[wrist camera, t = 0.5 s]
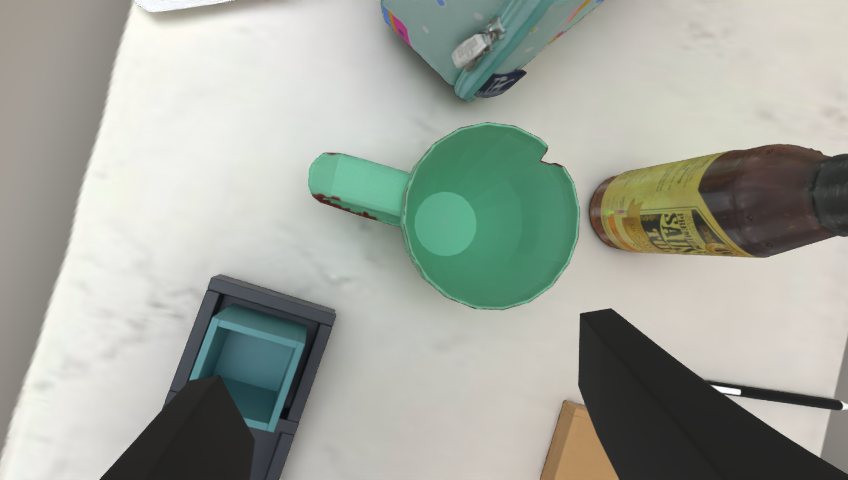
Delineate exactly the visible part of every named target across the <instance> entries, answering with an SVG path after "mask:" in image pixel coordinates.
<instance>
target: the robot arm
mask: <svg viewBox="0 0 848 480" xmlns="http://www.w3.org/2000/svg"><path fill="white" fill-rule="evenodd" d="M578 386H579V389H580V392H581V394H582V397H583V400H584V403H585V405H586V408H587V411H588V413H589V416H590V419H591V421H592V424H593V426H594V429H595V432H596V434H597V436H598V438H599V440H600V443H601V445H602V447H603V449H604V451H605V453H606V455H607V457H608V459H609V461H610V463H611V465H612V467H613V469H614V471H615V473H616V475H617V476H618V478H619V480H848V474H846V473H844V472H843V471H841V470H839V469H838V468H836V467H834V466H833V465H831V464H829V463H827V462H826V461H824V460H823V459H821V458H819V457H818V456H816V455H814V454H813V453H811V452H809V451H808V450H806V449H804V448H803V447H801V446H800V445H798V444H797V443H795V442H793V441H792V440H790V439H789V438H787V437H786V436H784V435H782V434H781V433H779V432H778V431H776V430H775V429H773V428H772V427H770V426H769V425H767V424H766V423H764V422H763V421H761V420H760V419H759V418H757V417H756V416H754V415H753V414H751V413H750V412H748V411H747V410H745V409H744V408H742V407H741V406H739V405H738V404H737V403H735V402H734V401H732V400H731V399H729V398H728V397H727V396H725V395H724V394H722V393H721V392H720V391H718V390H717V389H716V388H714V387H713V386H711V385H710V384H709V383H707V382H706V381H705V380H703V379H702V378H701V377H699V376H698V375H696V374H695V373H694V372H692V371H691V370H690V369H688V368H687V367H686V366H684V365H683V364H682V363H680V362H679V361H678V360H676V359H675V358H674V357H673V356H671V355H670V354H669V353H667V352H666V351H665V350H664V349H662V348H661V347H660V346H658V345H657V344H656V343H655V342H653V341H652V340H651V339H649V338H648V337H647V336H646V335H644V334H643V333H642V332H641V331H639V330H638V329H637V328H636V327H634V326H633V325H632V324H631V323H629V322H628V321H627V320H626V319H624V318H623V317H622V316H620V315H619V314H618V313H617V312H615V311H614V310H613V309H611V308H610V309H604V310H598V311H592V312H586V313H580V336H579V380H578ZM254 446H255V439H254V437H253V435H252V433H251V431H250V429H249V428H248V426H247V424H246V422H245V420H244V419H243V417H242V415H241V413H240V411H239V409H238V408H237V406H236V404H235V402H234V400H233V398H232V397H231V395H230V393H229V391H228V389H227V387H226V386H225V384H224V382H223V380H222V378H221V376H220V375H217V376H212V377H206V378H200V379H194V380H190V381H189V382H188V383H187V384H186V385H185V386H184V387H183V388H182V389H181V390H180V391H179V392H178V393H177V394H176V395H175V396H174V397H173V399H172V400H171V401H170V402H169V403H168V404H167V405H166V406H165V407H164V408H163V410H162V411H161V412H160V413H159V414H158V415H157V416H156V417H155V419H154V420H153V421H152V422H151V423H150V424H149V425H148V426H147V428H146V429H145V430H144V431H143V432H142V433H141V434H140V435H139V436H138V438H137V439H136V440H135V441H134V442H133V443H132V444H131V445H130V447H129V448H128V449H127V450H126V451H125V452H124V453H123V454H122V455H121V456H120V458H119V459H118V460H117V461H116V462H115V463H114V464H113V465H112V466H111V467H110V469H109V470H108V471H107V472H106V473H105V474H104V475H103V476H102V477H101V479H100V480H250V476H251V470H252V462H253V454H254Z"/></svg>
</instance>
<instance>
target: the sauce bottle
mask: <svg viewBox="0 0 848 480" xmlns="http://www.w3.org/2000/svg"><path fill="white" fill-rule="evenodd" d="M590 216H591V222H592V225H593V227H594V229H595V231H596V232H597V234H598V235H599V237H600V238H601V239H602V240H603V241H604V242H605V243H607V244H608V245H610V246H611V247H615V248H618V249H623V250H626V251H629V252H641V253H662V254H683V255H710V256H732V257H755V258H766V257H769V256H772V255H776V254H779V253H782V252H786V251H789V250H792V249H795V248H799V247H802V246H805V245H809V244H812V243H815V242H818V241H822V240H825V239H828V238H832V237H835V236H842V237H847V236H848V154H840V155H836V156H833V157H830V156H826V155H823V154H822V153H821V152H820V151H816V150H813V149H812V148H810V149H808V148H804V147H801V146H796V145H790V144H787V145H786V144H785V145H783V144H775V145H766V146H761V147H757V148H751V149H747V150H732V151H727V152H722V153H717V154H712V155H706V156H702V157H697V158H692V159H687V160H682V161H677V162H672V163H667V164H661V165H656V166H652V167H647V168H642V169H637V170H632V171H627V172H624V173H622V174H621V175H618V176H613V177H611V178H609V179H607V180H605V181H604V183H602V184H601V185H600V186H599V188H598V189H597V190H596V192H595V193H594V196H593V198H592V202H591V207H590Z"/></svg>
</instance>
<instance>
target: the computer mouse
mask: <svg viewBox="0 0 848 480" xmlns="http://www.w3.org/2000/svg"><path fill="white" fill-rule="evenodd" d="M134 1H135V2H136V4H138V6H140V5H142V7H144V9H145V10H146V11H148V12H160V11H168V10H177V9H184V8H190V7H197V6H204V5H211V4H217V3H222V2H228V1H233V0H134ZM140 7H141V6H140Z"/></svg>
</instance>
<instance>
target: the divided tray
mask: <svg viewBox="0 0 848 480" xmlns="http://www.w3.org/2000/svg"><path fill="white" fill-rule="evenodd" d="M233 303H236V304H239V305H242V306H246V307H249V308H252V309H256V310H259V311H262V312H266V313H269V314H272V315H276V316H279V317H282V318H286V319H289V320H293V321H296V322H299V323H303V324H306V325H307V333H306V340H305V345H304V348H303V351H302V354H301V357H300V360H299V362H298V365H297V368H296V371H295V374H294V377H293V379H292V382H291V385H290V388H289V391H288V394H287V396H286V399H285V402H284V405H283V408H282V411H281V413H280V416H279V419H278V422H277V425H276V427H275V430H274V432H269V431H267V430H266V431H265V430H261V429H257V428H253V427H249V426H248V428H249V429H250V431H251V433H252V435H253V437H254V439H255V446H254V454H253V462H252V470H251V476H250V480H279V478H280V476H281V473H282V470H283V467H284V464H285V461H286V458H287V455H288V453H289V450H290V447H291V444H292V441H293V438H294V435H295V433H296V430H297V427H298V424H299V421H300V418H301V415H302V413H303V410H304V407H305V404H306V401H307V398H308V395H309V393H310V390H311V387H312V384H313V381H314V378H315V375H316V373H317V370H318V367H319V364H320V361H321V358H322V355H323V353H324V350H325V347H326V344H327V341H328V338H329V335H330V333H331V330H332V326H333V324H334V321H335V318H336V313H335V310H334V309H331V308H327V307H324V306H321V305H318V304H314V303H311V302H308V301H305V300H301V299H298V298H295V297H292V296H289V295H285V294H282V293H279V292H276V291H272V290H269V289H266V288H263V287H260V286H256V285H253V284H250V283H247V282H243V281H240V280H237V279H234V278H230V277H227V276H224V275H221V274H220V275H217V276H214V277H212V278H211V280H210V283H209V286H208V290H207V291H206V294H205V296H204V299H203V302H202V304H201V307H200V310H199V312H198V315H197V318H196V320H195V323H194V326H193V328H192V331H191V334H190V336H189V339H188V342H187V344H186V347H185V350H184V352H183V355H182V358H181V360H180V363H179V366H178V368H177V371H176V374H175V376H174V379H173V382H172V384H171V387H170V390H169V392H168V395H167V397H166V400H165V404H164V406H163V408H164V407H165V406H166V405H167V404H168V403H169V402H170V401H171V400H172V399H173V397H174V396H175V395H176V394H177V393H178V392H179V391H180V390H181V389H182V388H183V387H184V386H185V385H186V384H187V383H188V382H189V379H190V376H191V374H192V371H193V368H194V366H195V363H196V360H197V357H198V355H199V352H200V349H201V347H202V344H203V341H204V339H205V336H206V333H207V331H208V328H209V325H210V323H211V320H212V317H214V316H215V315H217V314H218V313H219V312H221V311H222V310H224V309H225V308H227V307H228V306H230V305H231V304H233ZM163 408H162V410H163Z"/></svg>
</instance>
